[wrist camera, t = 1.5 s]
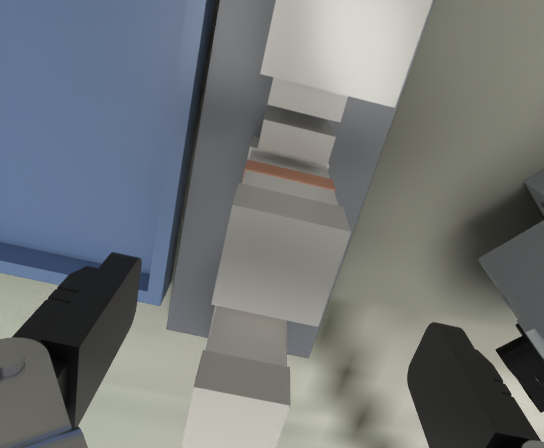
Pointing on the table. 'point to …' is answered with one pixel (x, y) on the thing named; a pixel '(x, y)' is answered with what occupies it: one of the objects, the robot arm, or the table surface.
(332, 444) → the table surface
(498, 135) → the table surface
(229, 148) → the fuse holder
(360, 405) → the table surface
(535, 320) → the circuit breaker
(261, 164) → the block
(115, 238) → the tray
